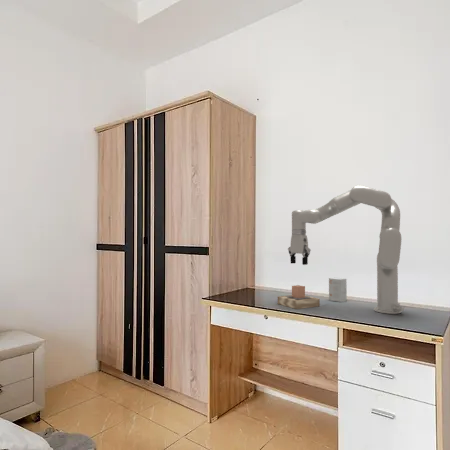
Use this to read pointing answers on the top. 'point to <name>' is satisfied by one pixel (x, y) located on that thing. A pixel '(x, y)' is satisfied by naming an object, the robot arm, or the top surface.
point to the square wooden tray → (298, 302)
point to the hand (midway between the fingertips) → (298, 263)
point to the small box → (337, 289)
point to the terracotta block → (298, 291)
